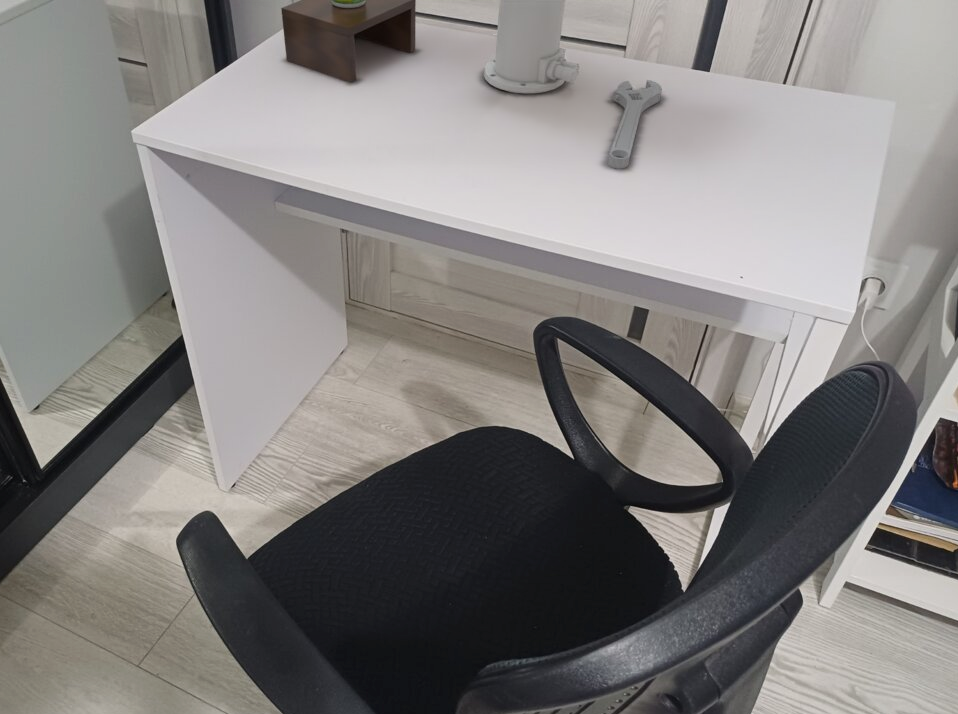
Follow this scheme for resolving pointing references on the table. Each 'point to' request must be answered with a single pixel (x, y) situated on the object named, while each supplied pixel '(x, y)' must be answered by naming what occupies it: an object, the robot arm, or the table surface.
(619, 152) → the adjustable wrench
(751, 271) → the table surface
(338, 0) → the supplement bottle
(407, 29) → the shelf
